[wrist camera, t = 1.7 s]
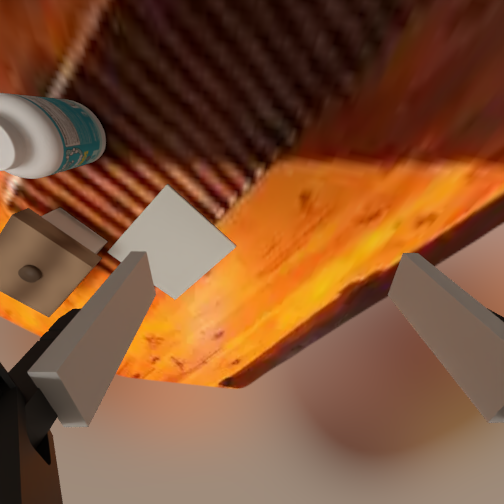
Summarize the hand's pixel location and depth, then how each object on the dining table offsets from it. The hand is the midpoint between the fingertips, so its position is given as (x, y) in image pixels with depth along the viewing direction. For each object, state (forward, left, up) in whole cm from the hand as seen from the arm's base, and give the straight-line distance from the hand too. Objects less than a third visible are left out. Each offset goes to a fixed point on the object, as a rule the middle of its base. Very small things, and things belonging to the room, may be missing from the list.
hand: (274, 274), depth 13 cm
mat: (-1, -18, -25) cm, 31 cm away
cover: (-13, -30, -20) cm, 39 cm away
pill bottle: (-20, -13, -26) cm, 35 cm away
